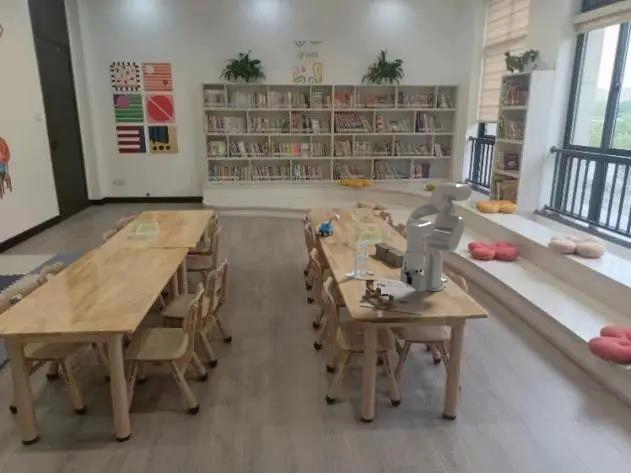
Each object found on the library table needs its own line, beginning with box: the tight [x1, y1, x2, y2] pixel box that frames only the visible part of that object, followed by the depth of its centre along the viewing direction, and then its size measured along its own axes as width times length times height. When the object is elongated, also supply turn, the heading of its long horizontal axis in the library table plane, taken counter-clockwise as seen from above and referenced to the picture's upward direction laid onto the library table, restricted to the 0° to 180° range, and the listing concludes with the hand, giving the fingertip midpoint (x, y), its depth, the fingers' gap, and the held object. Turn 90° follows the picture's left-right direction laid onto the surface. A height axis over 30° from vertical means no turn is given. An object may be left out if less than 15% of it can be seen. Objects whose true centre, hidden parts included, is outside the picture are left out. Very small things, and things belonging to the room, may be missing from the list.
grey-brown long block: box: [374, 242, 405, 268], centre depth 299 cm, size 8×8×29 cm
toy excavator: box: [317, 214, 340, 238], centre depth 355 cm, size 9×17×17 cm, turn 57°
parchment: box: [364, 279, 376, 292], centre depth 250 cm, size 25×10×1 cm, turn 14°
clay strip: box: [399, 267, 426, 293], centre depth 231 cm, size 4×16×7 cm, turn 26°
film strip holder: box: [344, 239, 376, 281], centre depth 267 cm, size 14×14×20 cm
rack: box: [361, 287, 397, 311], centre depth 230 cm, size 8×18×5 cm, turn 26°
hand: (412, 282), depth 232 cm, fingers closed on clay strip, 3 cm apart
